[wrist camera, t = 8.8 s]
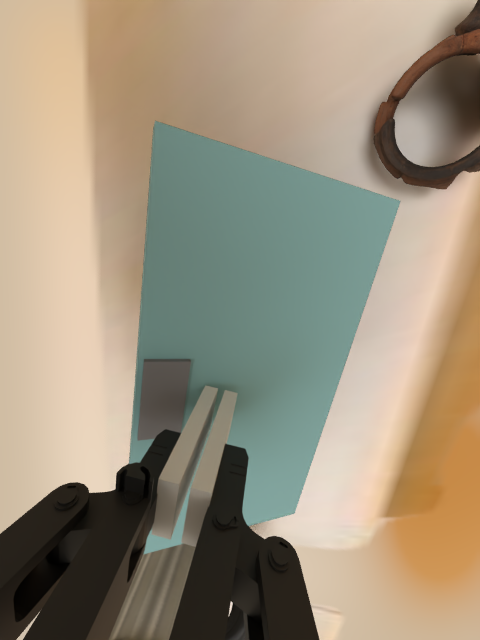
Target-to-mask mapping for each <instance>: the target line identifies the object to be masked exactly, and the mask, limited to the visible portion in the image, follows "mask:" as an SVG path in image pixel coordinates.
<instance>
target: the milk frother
mask: <svg viewBox="0 0 480 640" xmlns="http://www.w3.org/2000/svg"><path fill="white" fill-rule="evenodd" d="M195 548H196V547H194V546H191V545H187V544H180V545H176V546H173V547H169V548H165V549H162V550H158V551H154V552H150V553H147V554H143V556H142V559H141V561H140V564H139V566H138V569H137V571H136V573H135V576H134V578H133V581H132V583H131V586H130V588H129V591H128V593H127V596H126V598H125V601H124V603H123V605H122V608H121V610H120V613H119V615H118V618H117V620H116V623H115V625H114V628H113V630H112V633H111V635H110V638H109V640H169V638H170V634H171V631H172V627H173V624H174V620H175V617H176V613H177V610H178V607H179V603H180V600H181V596H182V593H183V589H184V586H185V582H186V579H187V575H188V572H189V569H190V565H191V562H192V558H193V555H194V551H195ZM225 640H245V629H244V614H243V611H242V610H241V609H240V608H239V607H238V606H236V605H235V604H234V603H233V605H232V610H231V613H230V615H229V617H228V622H227V628H226V635H225Z"/></svg>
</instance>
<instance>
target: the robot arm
mask: <svg viewBox="0 0 480 640" xmlns="http://www.w3.org/2000/svg"><path fill="white" fill-rule="evenodd" d="M217 391H218V388H214V387H210V386H206V385H205V387H204V389H203V391H202V393H201V395H200V397H199V399H198V401H197V403H196V405H195V407H194V409H193V411H192V413H191V415H190V417H189V419H188V421H187V423H186V425H185V427H184V429H183V431H182V433H179V432H175V431H171V430H167V429H165V430H164V431H162V432H161V433H159V434H158V435H157V436H156V438H155V439H154V441H153V442H152V444H151V446H150V447H149V449H148V450H147V452H146V454H145V455H144V457H143V458H142V460H141V461H140V463H138V462H135V463H131V464H128V465H126V466H124V467H122V468H121V469H120V470H119V471H118V472H117V475H116V490H113V491H109V492H102V493H101V492H100V493H89V490H88V488H87V487H86V486H85V485H84V484H81V483H68V484H65V485H62V486H60V487H58V488H57V489H55V490H53V491H52V492H51V493H50V494H48V495H47V496H46V497H45V498H44V499H42V500H41V501H40V502H39V503H37V504H36V505H35V506H34V507H33V508H32V509H30V510H29V511H28V512H27V513H25V514H24V515H23V516H22V517H20V518H19V519H18V520H17V521H15V522H14V523H13V524H12V525H11V526H10V527H8V528H7V529H6V530H5V531H3V532H2V533H1V534H0V640H16V639H17V638H18V637H19V636H20V634H21V633H22V632H23V631H24V630H25V629H26V627H27V626H28V625H29V624H30V622H31V621H32V620H33V619H34V618H35V617H36V615H37V614H38V613H39V612H40V613H39V615H38V616H37V618H36V619H35V621H34V623H33V624H32V626H31V627H30V629H29V631H28V632H27V634H26V635H25V637H24V639H23V640H109V638H110V635H111V633H112V630H113V628H114V625H115V623H116V620H117V618H118V615H119V613H120V610H121V608H122V605H123V603H124V601H125V598H126V596H127V593H128V591H129V588H130V586H131V583H132V581H133V578H134V576H135V573H136V571H137V569H138V566H139V564H140V561H141V559H142V556H143V554H144V551H145V547H146V541H147V537H148V535H149V533H150V531H151V528H152V533H151V534H152V535H155V536H159V537H163V538H166V539H170V540H171V537H172V534H173V531H174V529H175V526H176V523H177V520H178V517H179V515H180V512H181V509H182V506H183V503H184V501H185V498H186V495H187V492H188V489H189V487H190V484H191V481H192V478H193V476H194V473H195V470H196V467H197V464H198V462H199V459H200V456H201V453H202V450H203V448H204V445H205V442H206V439H207V436H208V434H209V431H210V428H211V424H212V418H213V413H214V407H215V402H216V397H217ZM237 394H238V393H235V392H231V391H227V390H225V391H224V394H223V397H222V400H221V403H220V406H219V409H218V411H217V414H216V417H215V420H214V423H213V426H212V428H211V431H210V434H209V437H208V440H207V443H206V446H205V448H204V451H203V454H202V457H201V460H200V463H199V465H198V468H197V471H196V474H195V477H194V480H193V482H192V485H191V489H190V495H189V500H188V506H187V512H186V518H185V523H184V529H183V535H182V540H181V543H184V544H187V545H191V546H194V547H196V548H195V551H194V555H193V558H192V562H191V565H190V569H189V572H188V575H187V579H186V582H185V586H184V589H183V593H182V596H181V600H180V603H179V607H178V610H177V613H176V617H175V620H174V624H173V627H172V631H171V634H170V638H169V640H225V635H226V628H227V622H228V615H229V608H230V601H232V602H233V603H234V604H235V605H236V606H238V607H239V608H240V609H241V610H242V611H243V614H244V629H245V640H319V636H318V632H317V628H316V625H315V621H314V617H313V613H312V609H311V605H310V601H309V597H308V594H307V589H306V585H305V581H304V577H303V574H302V569H301V565H300V561H299V558H298V556H297V553H296V551H295V549H294V548H293V547H292V545H291V544H290V543H289V542H288V541H286V540H285V539H283V538H281V537H277V536H272V537H268V538H266V539H263V538H262V537H260V536H259V535H258V534H256V533H255V532H254V531H252V530H251V529H250V528H249V526H248V525H247V524H246V522H245V520H244V517H243V513H242V507H243V499H244V491H245V484H246V476H247V468H248V460H249V457H248V454H247V451H246V449H245V448H241V447H237V446H233V445H229V444H227V440H228V436H229V432H230V427H231V422H232V418H233V413H234V408H235V403H236V399H237ZM41 609H42V610H41Z"/></svg>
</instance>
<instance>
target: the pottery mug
mask: <svg viewBox="0 0 480 640" xmlns="http://www.w3.org/2000/svg"><path fill="white" fill-rule="evenodd" d="M455 32H456V36H455V35H452V36H449V37H448V38H446V39H445V40H443V41H442V42H440V43H439V44H437V45H436V46H435V47H434V48H432V49H431V50H430V51H428V52H427V53H425V54H424V55H423V56H421V57H420V58H419V59H418V60H417V61H416V62H415V63H414V64H413V65H412V66H411V67H410V68H409V69H408V70H407V71H406V72H405V73H404V74H403V76H402V77H401V79H400V80H399V81H398V83H397V84H396V86H395V87H394V89H393V90H392V92H391V93H390V95H389V97H388V100H387V102H382V103H381V105H380V108H379V111H378V115H377V118H376V123H375V129H374V134H375V136H374V144H375V148H376V151H377V153H378V155H379V158H380V160H381V162H382V163H383V165H384V166H385V168H386V169H387V170H388V171H389V172H390V173H391V174H392V175H393V176H394V177H395V178H397V179H398V178H400V177H401V178H402V179H403V181H404V182H405V183H407V184H411V185H415V186H425V187H431V188H436V189H447V187H448V186H449V185H450V184H451V183H452V182H453V181H454V179H455V178H456V176H457V175H458V174H459V173H460V172H462V171H467V172H477V171H480V146H478V147H477V148H476V149H475V150H474V151H472V152H471V153H470V154H468V155H467V156H465V157H463V158H462V159H460V160H458V161H456V162H455V163H451V164H448V165H445V166H439V167H423V166H419V165H416V164H414V163H412V162H411V161H409V160H407V159H406V158H405V157H404V156H403V154H402V153H401V152H400V150H399V148H398V146H397V144H396V139H395V131H394V129H395V120H394V119H393V117H394V113H395V110H396V108H397V105H398V104H399V101H400V100H401V99H403V98H404V97H405V95H406V94H407V92H408V91H409V90H410V88H411V87H412V86H413V84H414V83H415V82H416V81H417V80H418V79H419V78H420V77H421V76H422V75H423V74H424V73H425V72H426V71H428V70H429V69H430V68H432V67H433V66H435V65H436V64H438V63H440V62H441V61H443V60H445V59H447V58H450V57H453V56H458V55H476V54H480V0H478V1H477V3H476V5H475V7H474V8H473V10H472V11H471V13H470V14H469V15H468V17H467V18H466V19H465V20H464V21H462V22H461V23H460V24H459V25H458V26H457V27H456V28H455Z"/></svg>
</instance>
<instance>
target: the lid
mask: <svg viewBox="0 0 480 640" xmlns="http://www.w3.org/2000/svg"><path fill="white" fill-rule="evenodd" d="M399 204H400V201H399V200H396V199H392V198H389V197H386V196H383V195H380V194H377V193H374V192H371V191H368V190H365V189H362V188H359V187H356V186H353V185H350V184H347V183H344V182H341V181H338V180H334V179H331V178H328V177H325V176H322V175H319V174H316V173H313V172H310V171H307V170H304V169H301V168H298V167H295V166H292V165H289V164H286V163H283V162H280V161H276V160H273V159H270V158H267V157H264V156H261V155H258V154H255V153H252V152H249V151H246V150H243V149H240V148H237V147H234V146H231V145H228V144H225V143H222V142H218V141H215V140H212V139H209V138H206V137H203V136H200V135H197V134H194V133H191V132H188V131H185V130H182V129H179V128H176V127H173V126H170V125H167V124H164V123H161V122H157V121H155V124H154V128H153V139H152V153H151V167H150V181H149V194H148V208H147V222H146V236H145V250H144V263H143V277H142V291H141V305H140V319H139V332H138V346H137V360H136V374H135V388H134V401H133V415H132V429H131V443H130V457H129V464H131V463H135V462H138V463H140V461H141V460H142V458H143V457H144V455H145V454H146V452H147V450H148V449H149V447H150V446H151V444H152V442H153V441H154V439H155V438H156V436H157V435H158V434H159V433H161V432H162V431H164V430H165V429H167V430H171V431H175V432H179V433H182V431H183V429H184V427H185V425H186V423H187V421H188V419H189V417H190V415H191V413H192V411H193V409H194V407H195V405H196V403H197V401H198V399H199V397H200V395H201V393H202V391H203V389H204V387H205V385H206V386H210V387H214V388H218V391H217V397H216V402H215V407H214V413H213V418H212V424H211V428H212V426H213V423H214V420H215V417H216V414H217V411H218V409H219V406H220V403H221V400H222V397H223V394H224V391H225V390H227V391H231V392H235V393H238V394H237V399H236V403H235V408H234V413H233V418H232V422H231V427H230V432H229V436H228V440H227V444H229V445H233V446H237V447H241V448H245V449H246V451H247V454H248V457H249V460H248V468H247V476H246V484H245V491H244V499H243V507H242V513H243V517H244V520H245V522H246V524H247V525H248V526H250V525H254V524H258V523H261V522H265V521H269V520H273V519H276V518H280V517H284V516H287V515H291V514H294V513H295V510H296V507H297V504H298V501H299V498H300V495H301V492H302V489H303V486H304V483H305V480H306V477H307V475H308V472H309V469H310V466H311V463H312V460H313V457H314V454H315V451H316V448H317V445H318V442H319V439H320V436H321V433H322V430H323V427H324V424H325V422H326V419H327V416H328V413H329V410H330V407H331V404H332V401H333V398H334V395H335V392H336V389H337V386H338V383H339V380H340V377H341V374H342V372H343V369H344V366H345V363H346V360H347V357H348V354H349V351H350V348H351V345H352V342H353V339H354V336H355V333H356V330H357V327H358V324H359V322H360V319H361V316H362V313H363V310H364V307H365V304H366V301H367V298H368V295H369V292H370V289H371V286H372V283H373V280H374V277H375V274H376V271H377V269H378V266H379V263H380V260H381V257H382V254H383V251H384V248H385V245H386V242H387V239H388V236H389V233H390V230H391V227H392V224H393V221H394V219H395V216H396V213H397V210H398V207H399ZM211 428H210V431H211ZM210 431H209V434H210ZM209 434H208V436H207V439H206V442H205V445H204V448H205V446H206V443H207V440H208V437H209ZM204 448H203V450H202V453H201V456H200V459H199V462H198V464H197V467H196V470H195V473H194V476H193V478H192V481H191V484H190V487H189V489H188V492H187V495H186V498H185V501H184V503H183V506H182V509H181V512H180V515H179V517H178V520H177V523H176V526H175V529H174V531H173V534H172V537H171V540H170V539H166V538H163V537H159V536H155V535H152V534H151V533H152V528H151V531H150V533H149V535H148V537H147V541H146V547H145V551H144V554H147V553H150V552H154V551H158V550H162V549H165V548H169V547H173V546H176V545H180V544H184V543H181V540H182V535H183V529H184V523H185V518H186V512H187V506H188V500H189V495H190V489H191V485H192V482H193V480H194V477H195V474H196V471H197V468H198V465H199V463H200V460H201V457H202V454H203V451H204Z"/></svg>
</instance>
